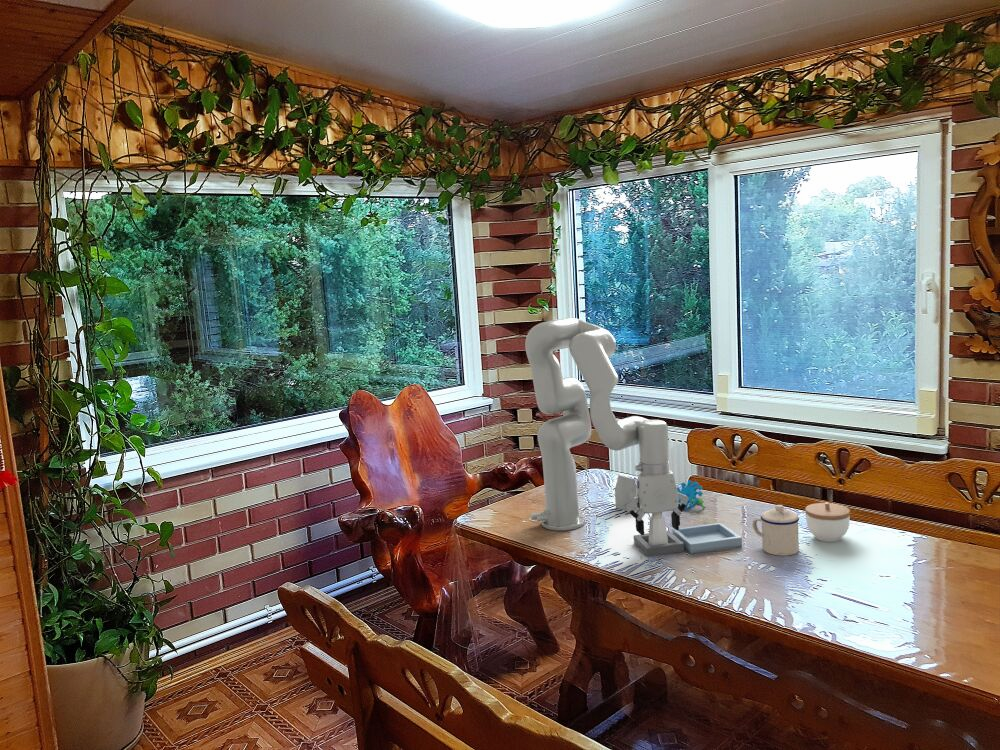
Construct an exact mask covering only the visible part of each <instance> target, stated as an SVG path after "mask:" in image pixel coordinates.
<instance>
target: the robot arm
mask: <svg viewBox="0 0 1000 750" xmlns="http://www.w3.org/2000/svg"><path fill="white" fill-rule="evenodd" d="M524 343H525V344H524V345H525V346H524V347H525V352H526V356H527V357H526V358H527V359H528V363H529V366H530V370H531V377H532V383H533V387H534V395H535V400H536V405H537V407H538V410H539V411H540V412H541V413H543V414H545V415H554V414H559V413H562V416H558V417H554V418H551V419H548V420H546V421H545V422H543V423H542V424H541V425H540V426H539V428H538V430H537V442H538V446H539V449H540V450H539V451H540V452H541V453H540V454H541V461H542V470H543V471H542V472H543V482H544V483H543V485H544V497H545V498H544V499H545V507H543V511H540V512H531V513H530V520H531V521H535V520H536V522H541V526H542V527H543V528H544V529H547V530H550V531H560V532H561V531H570V530H575V529H579V528H580V527H582V526H583V525H584V524H585V523H586V522H585V517H584V516H582V515H580V513H579V512H580V511H579V497H578V495H579V493H578V479H577V477H578V476H577V466H576V462H575V458H574V457H573V454H572V453H571V451H570V449H572V448H573V447H577V446H580V445H582V444H584V443H586V442H587V441H588V440H590V437H591V435H592V425H593V427H594V429H595V431H596V433H597V435H598V437H599V438H600V440H601V441H602V444H604V446H605V447H606V448H608V449H609V450H612V451H616V452H617V451H621V450H624V449H627V448H630V447H634V446H636V445H638V448H639V449H638V450H639V461H638V462H639V464H637V465H634V466H635V467H634V469H635V472H637V471H638V475H637V480H636V485H637V489H636V497H634V498H633V499H631V500H630V501H628V502H627V503H626V504H625V507H626V509H627V510H628V511H627V513H628V514H629V515H631V516H632V517H633V518H634V519H635V530H636V532H637V533H639V535H644V534H645V525H644V524H645V522H644V519H643V518H644V516H645V515H646V514H647V515H648V514H652V513H658V512H662V513H665V512H670V511H671V514H670V515H671V527H672V529H675V530H679V528H680V526H681V515H682V513H683V511H685V510H684V508H685V507H686V504H687V502H688V499H689V497H687V496H686V495H683V494H681V493H678V492H677V487H678V486H677V483H676V478H675V474H674V472H673V471H672V470H671V468H670V466H671V465H670V448H669V447H670V446H669V429H668V424H667V422H665V421H664V420H661V419H648V418H645V417H642V416H638V415H631V416H627V417H625V418H621V419H618V420H617V418H616V416H615V414H614V413H613V410H612V407H611V394H612V392H613V391H614V388H615V386H617V384H618V383H619V379H620V378H619V375H618V374H617V372H616V370H615V368H614V366H613V365H612V362H611V360H610V359H609V358H611V357H612V356H614V354H615V352H616V349H617V344H616V339H615V338H614V336H613V334H612V333H611V332H610V331H609V330H607V329H605V328H602V327H600V326H599V325H595V324H593V323H590V322H587V321H585V320H583V319H580V318H575V317H568V318H566V317H565V318H561V319H554V320H548V321H544V322H540V323H538V324H536V325H534V326H532V328H531V329H530V330H529V331H528V332H527V335H526V338H525V342H524ZM565 349H568V350H569V353H570V356H571V357H572V359H573V361H574V363H575V365H576V367H577V369H578V371H579V373H580V375H581V376H582V378H583V380H584V382H585V384H586V386H587V387H588V390H589V393H590V396H589V397H590V398H589V403H588V400H587V399H588V398H587V393H586V390H585V388H584V386H583V384H582V383H581V382H580V380H578V379H577V378H574V377H572V376H571V377H570V376H568V377H563V374H562V368H561V364H560V362H559V360H558V358H557V356H555V354H554V352H555V351H558V350H565ZM588 404H589V405H588ZM678 498H680V499H681V502H680V503H678ZM635 504H637V507H638V509H637V511H634V510H633V509H632V506H634V505H635Z"/></svg>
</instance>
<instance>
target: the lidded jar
mask: <svg viewBox="0 0 1000 750" xmlns="http://www.w3.org/2000/svg"><path fill="white" fill-rule="evenodd" d="M804 511H805V521H806V525H807V529H808V530H809V532H810V533H811V534H812V535H813V536H814V537H815V539H816V540H818V541H820V542H825V543H835V542H839V541H841V538H844V536H845V535H846V534H847V532H848V531H849V526H850V521H851V519H850V518H851V510H850V509H849V507H847V506H845V505H842V504H838V503H833V502H832V503H831V502H818V503H817V502H816V503H811V504H809V505H807V506H805V509H804Z"/></svg>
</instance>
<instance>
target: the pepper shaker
mask: <svg viewBox="0 0 1000 750" xmlns="http://www.w3.org/2000/svg"><path fill="white" fill-rule="evenodd" d="M666 524H667V523H666V518H665V516H664V515H663V512H658V513H651V515H650V517H649V528H648V530H649V531H648V533H649V543H648V544H649V545H650V546H652V545H659V544H667V543H668V537H667V531H668V530H667V525H666Z"/></svg>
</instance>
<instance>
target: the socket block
mask: <svg viewBox="0 0 1000 750" xmlns="http://www.w3.org/2000/svg"><path fill="white" fill-rule="evenodd" d="M666 531H667V537H668V543H667V544H659V545H652V546H650V545H649V532H648V533H644V535H641V534H635V535H633V544H634V545H635V546H636V547H637V548H638V549H639V550H640V551H641V553H643V554H644V555H645V556H646V557H648V556H649V557H655V556H662V555H668V554H677V553H682V552H683V553H684V552H685V548H684V543H683V542H682V541H680V540H679V539H678V538H677V537H676V536H675V535H673V533H672V532H671V531H670V530H666Z"/></svg>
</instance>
